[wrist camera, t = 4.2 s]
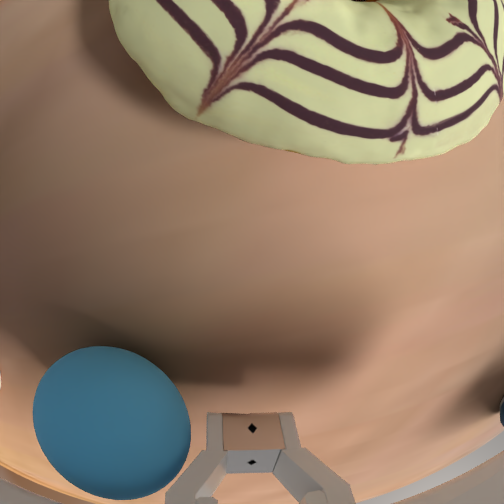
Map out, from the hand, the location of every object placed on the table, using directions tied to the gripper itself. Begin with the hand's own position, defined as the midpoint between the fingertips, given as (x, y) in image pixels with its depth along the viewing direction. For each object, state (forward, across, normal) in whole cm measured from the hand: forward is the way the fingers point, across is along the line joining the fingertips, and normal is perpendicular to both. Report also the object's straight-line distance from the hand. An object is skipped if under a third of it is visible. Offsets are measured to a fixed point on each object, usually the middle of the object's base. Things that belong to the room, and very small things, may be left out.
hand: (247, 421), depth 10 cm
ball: (-1, +5, 0) cm, 5 cm away
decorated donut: (+2, -1, -14) cm, 14 cm away
